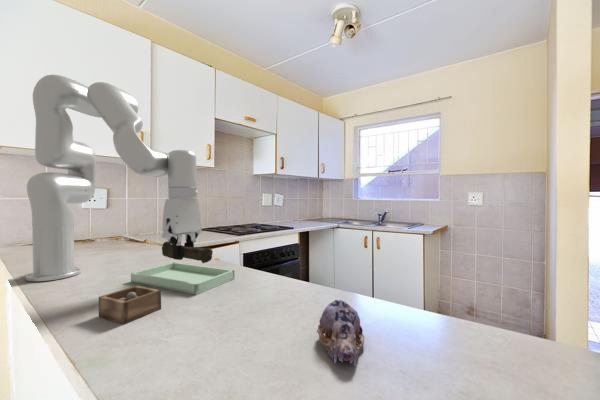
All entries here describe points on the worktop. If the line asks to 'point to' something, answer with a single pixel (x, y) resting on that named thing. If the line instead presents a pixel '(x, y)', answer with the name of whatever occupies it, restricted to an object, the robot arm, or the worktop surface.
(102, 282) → the worktop surface
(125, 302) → the gravel box
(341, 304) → the skull
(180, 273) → the tray
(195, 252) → the dark brown tapered bar
